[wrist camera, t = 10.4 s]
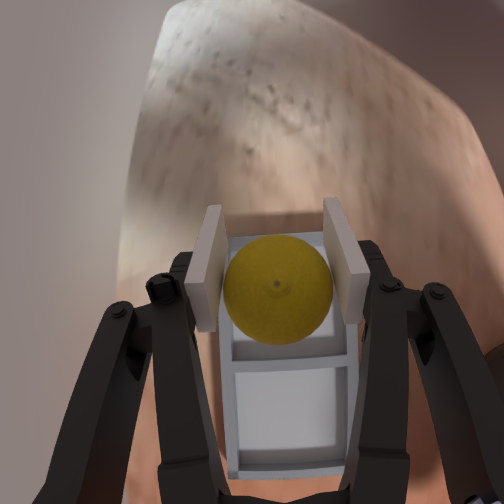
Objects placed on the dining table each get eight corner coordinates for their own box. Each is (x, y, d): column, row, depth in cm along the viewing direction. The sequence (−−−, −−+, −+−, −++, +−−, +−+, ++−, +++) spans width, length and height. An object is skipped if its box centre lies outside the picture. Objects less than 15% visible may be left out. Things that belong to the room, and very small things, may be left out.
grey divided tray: (221, 243, 32) (216, 237, 29) (344, 236, 31) (349, 229, 28) (232, 468, 27) (228, 478, 25) (351, 462, 26) (356, 472, 24)
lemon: (229, 258, 21) (200, 225, 13) (315, 246, 21) (334, 205, 13) (240, 344, 20) (215, 362, 12) (328, 331, 20) (357, 342, 12)
